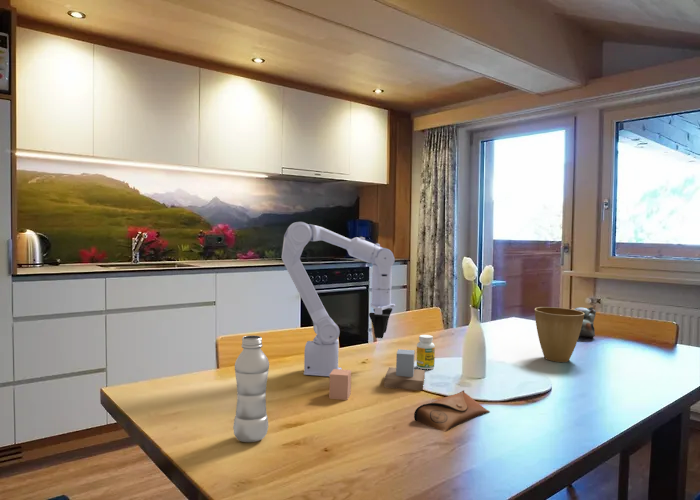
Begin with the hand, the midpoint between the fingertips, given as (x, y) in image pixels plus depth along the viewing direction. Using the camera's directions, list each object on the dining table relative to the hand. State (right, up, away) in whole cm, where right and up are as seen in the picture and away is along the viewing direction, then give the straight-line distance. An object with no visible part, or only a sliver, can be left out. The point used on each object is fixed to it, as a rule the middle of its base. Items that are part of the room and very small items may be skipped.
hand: (380, 335), depth 141 cm
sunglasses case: (+14, -13, -33) cm, 38 cm away
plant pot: (+59, -11, +16) cm, 62 cm away
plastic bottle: (-28, -12, -47) cm, 56 cm away
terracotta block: (-11, -11, -22) cm, 27 cm away
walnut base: (+6, -12, -11) cm, 17 cm away
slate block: (+6, -9, -11) cm, 15 cm away
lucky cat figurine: (+82, -10, +52) cm, 97 cm away
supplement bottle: (+14, -11, +4) cm, 18 cm away
